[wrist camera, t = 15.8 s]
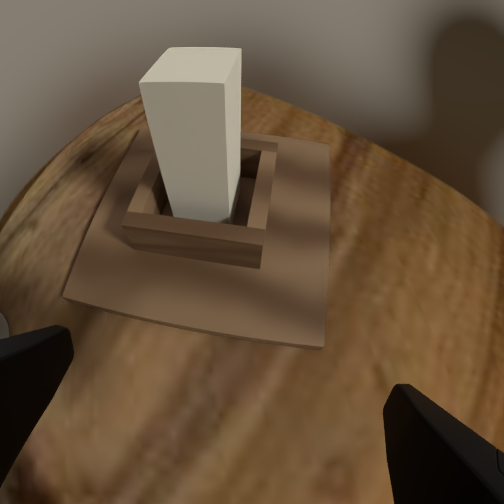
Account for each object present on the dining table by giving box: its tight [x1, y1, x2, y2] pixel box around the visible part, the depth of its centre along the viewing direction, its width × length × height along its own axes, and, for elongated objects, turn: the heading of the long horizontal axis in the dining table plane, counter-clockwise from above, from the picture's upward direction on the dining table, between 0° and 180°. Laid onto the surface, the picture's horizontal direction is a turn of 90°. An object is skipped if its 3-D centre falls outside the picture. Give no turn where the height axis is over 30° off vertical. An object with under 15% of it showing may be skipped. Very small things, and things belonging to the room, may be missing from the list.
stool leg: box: [139, 47, 241, 225], centre depth 20 cm, size 4×4×13 cm
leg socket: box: [62, 126, 330, 350], centre depth 24 cm, size 20×20×4 cm
